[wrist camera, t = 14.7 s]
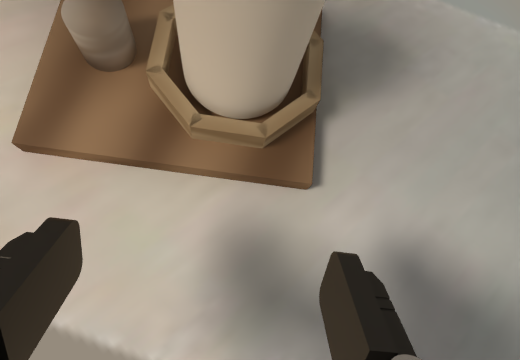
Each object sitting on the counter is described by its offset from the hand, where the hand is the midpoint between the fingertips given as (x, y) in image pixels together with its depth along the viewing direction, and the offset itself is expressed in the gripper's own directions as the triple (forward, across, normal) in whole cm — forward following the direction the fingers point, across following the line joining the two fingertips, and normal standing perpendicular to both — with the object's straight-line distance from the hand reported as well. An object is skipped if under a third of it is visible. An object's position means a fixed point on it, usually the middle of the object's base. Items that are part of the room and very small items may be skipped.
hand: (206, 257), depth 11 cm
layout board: (+14, +3, -3) cm, 14 cm away
